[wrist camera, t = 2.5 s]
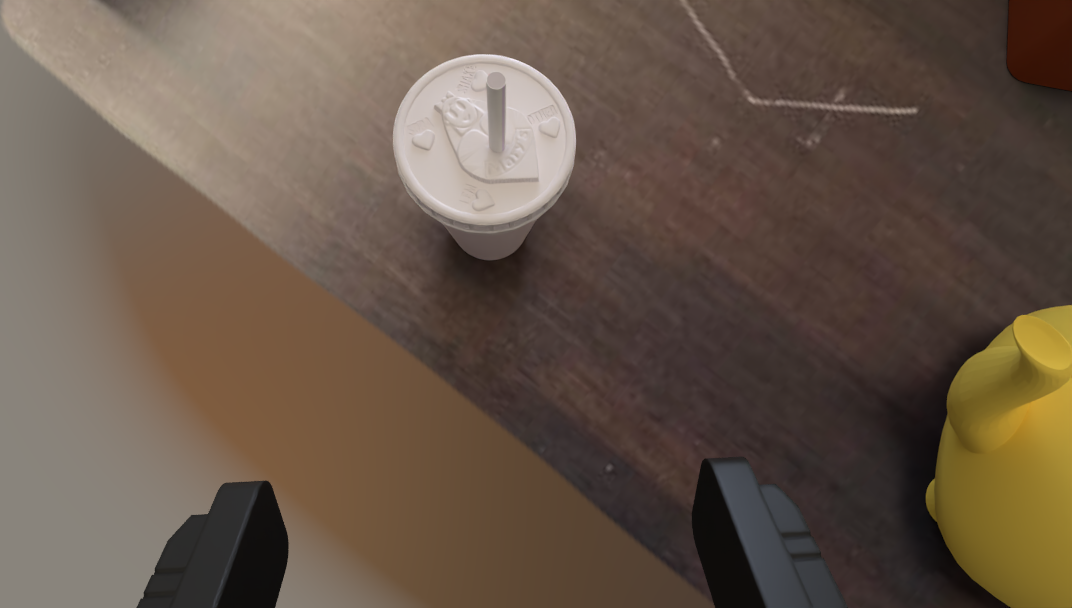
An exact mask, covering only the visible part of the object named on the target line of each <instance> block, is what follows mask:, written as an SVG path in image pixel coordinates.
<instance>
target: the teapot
mask: <svg viewBox="0 0 1072 608" xmlns="http://www.w3.org/2000/svg"><path fill="white" fill-rule="evenodd" d="M947 411H948V415H947V418H946V421H945V424H944V427H943V430H942V435H941V440H940V444H939V449H938V456H937V463H936V472H935V479H933V480H932V481H931V483H930V484H929V486H928V488H927V492H926V505H927V508H928V511H929V513H930V515H931V516H932V517H933V519H934V520H935V521H936V522H937V523H938V527H939V529H940V531H941V534H942V536H943V539H944V541H945V543H946V545H947V547H948V549H949V550H950V552H951V553H952V555H953V557H954V558H955V560H956V562H957V563H958V564H959V566H960V567H961V568H962V569H963V570H964V571H965V572H966V573H967V574H968V575H969V577H970V578H971V579H973V580H974V581H975V582H977V583H978V584H979V585H980V586H982V587H983V588H984V589H985V590H987V591H988V592H989V593H991V594H992V595H993V596H995V597H996V598H997V599H999V600H1000V601H1002V602H1003V603H1005V604H1006V605H1008V606H1009V607H1011V608H1072V305H1067V306H1059V307H1053V308H1048V309H1042V310H1039V311H1036V312H1033V313H1030V314H1027V315H1021V316H1019V317H1017V318H1016V319H1015V321H1014V322H1013V324H1011V325H1009V326H1008V327H1006V328H1005V329H1004V330H1003V331H1002V332H1001V333H1000V334H999V335H998V336H997V337H996V338H995V339H994V340H993V341H992V342H991V343H990V344H989V346H988V347H987V348H986V349H985V350H984V351H981V352H979V353H977V354H975V355H974V356H972V357H971V358H969V359H968V360H967V361H966V362H965V363H964V365H963V366H962V367H961V368H960V370H959V371H958V373H957V374H956V376H955V378H954V380H953V382H952V383H951V386H950V389H949V392H948V395H947Z"/></svg>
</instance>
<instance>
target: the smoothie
mask: <svg viewBox="0 0 1072 608" xmlns="http://www.w3.org/2000/svg"><path fill="white" fill-rule="evenodd" d="M393 148H394V154H395V159H396V164H397V169H398V174H399V176H400V178H401V180H402V182H403V184H404V186H405V188H406V190H407V192H408V194H409V196H410V197H411V198H412V199H413V200H414V201H415V202H416V203H417V204H418V205H419V207H420V208H421V209H422V210H423V211H424V212H425V213H427V214H428V215H430V216H431V217H433V218H434V219H436V220H438V221H439V222H441V223H442V224H443V225H444V226H445V228H446V229H447V230H448V232H449V233H450V234H451V235H452V237H453V238H454V239H455V241H456V242H457V243H458V244H459V246H460V247H461V248H462V249H463V250H464V251H465V252H466V253H468V254H469V255H471V256H473V257H475V258H478V259H482V260H498V259H502V258H505V257H507V256H509V255H511V254H512V253H513V252H515V251H516V250H517V249H518V248H519V247H520V246H521V244H522V243H523V241H524V239H525V238H526V236H527V235H528V233H529V231H530V230H531V228H532V226H533V225H534V223H535V221H536V220H537V219H538V218H539V217H540V216H541V215H542V214H543V213H545V212H546V211H547V210H548V209H549V208H551V207H552V206H553V205H554V204H555V202H556V201H557V200H558V198H559V197H560V195H561V194H562V192H563V191H564V189H565V188H566V186H567V184H568V181H569V178H570V175H571V172H572V169H573V166H574V155H575V149H576V132H575V125H574V121H573V117H572V114H571V112H570V109H569V107H568V105H567V103H566V101H565V99H564V97H563V96H562V94H561V93H560V92H559V90H558V89H557V88H556V86H555V85H554V84H553V83H552V82H551V81H550V80H549V79H548V78H546V77H545V76H544V75H543V74H542V73H540V72H539V71H537V70H536V69H534V68H532V67H531V66H529V65H527V64H525V63H523V62H520V61H518V60H515V59H512V58H508V57H504V56H499V55H489V54H478V55H469V56H463V57H459V58H455V59H452V60H450V61H447V62H445V63H443V64H440V65H438V66H437V67H435V68H433V69H432V70H430V71H429V72H427V73H426V74H425V75H423V76H422V77H421V78H420V79H419V80H418V81H417V82H416V83H415V84H414V85H413V86H412V87H411V89H410V90H409V92H408V93H407V94H406V96H405V98H404V99H403V101H402V103H401V105H400V107H399V110H398V112H397V115H396V119H395V123H394V130H393Z"/></svg>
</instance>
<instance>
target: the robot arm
mask: <svg viewBox="0 0 1072 608" xmlns="http://www.w3.org/2000/svg"><path fill="white" fill-rule="evenodd" d="M692 528H693V535H694V540H695V544H696V547H697V551H698V554H699V557H700V560H701V563H702V567H703V570H704V573H705V576H706V579H707V582H708V586H709V589H710V592H711V595H712V598H713V602H714V605H715V608H848V607H847V605H846V603H845V601H844V599H843V597H842V595H841V593H840V591H839V589H838V587H837V585H836V582H835V580H834V578H833V576H832V574H831V572H830V570H829V568H828V566H827V564H826V562H825V560H824V558H821V552H820V550H819V548H818V546H817V544H816V542H815V540H814V538H813V537H811V535H810V530H809V528H808V526H807V524H806V522H805V520H804V518H803V516H802V514H801V512H800V509H799V507H798V506H797V505H796V504H795V503H794V502H793V501H792V500H791V499H790V498H789V497H788V496H787V495H786V494H785V493H784V492H783V491H782V490H781V489H780V488H779V487H778V486H777V485H776V484H768V485H759V484H758V482H757V479H756V477H755V475H754V473H753V470H752V468H751V466H750V464H749V462H748V461H747V459H746V458H744V457H728V458H709V459H704V460H703V461H702V464H701V468H700V474H699V479H698V484H697V489H696V494H695V500H694V505H693V510H692ZM287 559H288V535H287V531H286V528H285V525H284V522H283V519H282V516H281V513H280V510H279V507H278V504H277V501H276V498H275V495H274V491H273V488H272V486H271V484H270V483H269V482H268V481H254V482H233V483H224V484H223V485H222V486H221V487H220V489H219V490H218V492H217V494H216V497H215V499H214V501H213V504H212V506H211V509H210V511H209V513H208V514H204V515H191V517H189V518H188V519H187V521H186V522H185V523H184V524H183V525H182V526H181V527H180V528H179V529H178V530H177V531H176V532H175V534H174V535H173V536H172V537H171V538H170V539H169V540H168V542H167V544H166V546H165V548H164V550H163V552H162V555H161V557H160V559H159V561H158V563H157V565H156V567H155V573H154V575H152V576H151V578H150V580H149V582H148V585H147V587H146V589H145V591H144V597H143V599H141V600H140V602H139V604H138V606H137V608H275V606H276V602H277V598H278V595H279V591H280V588H281V584H282V581H283V577H284V574H285V570H286V566H287Z"/></svg>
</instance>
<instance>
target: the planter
mask: <svg viewBox="0 0 1072 608" xmlns="http://www.w3.org/2000/svg"><path fill="white" fill-rule="evenodd" d="M1007 66H1008V69H1009V71H1010V73H1011V74H1012V75H1013V76H1014V77H1015V78H1016V79H1018V80H1020V81H1023V82H1026V83H1031V84H1036V85H1042V86H1047V87H1052V88H1057V89H1063V90H1068V91H1072V0H1009V15H1008V42H1007Z"/></svg>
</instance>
